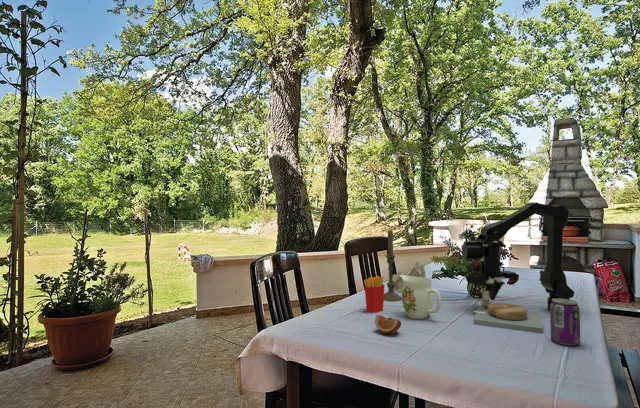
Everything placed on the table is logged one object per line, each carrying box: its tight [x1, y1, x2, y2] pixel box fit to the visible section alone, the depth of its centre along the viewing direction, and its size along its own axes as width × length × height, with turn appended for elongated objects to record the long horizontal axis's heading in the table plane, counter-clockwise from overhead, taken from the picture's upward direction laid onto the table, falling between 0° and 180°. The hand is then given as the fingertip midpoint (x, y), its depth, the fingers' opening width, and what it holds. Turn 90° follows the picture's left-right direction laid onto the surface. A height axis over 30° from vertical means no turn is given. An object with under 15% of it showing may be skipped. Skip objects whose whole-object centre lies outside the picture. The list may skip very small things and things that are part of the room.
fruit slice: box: [374, 314, 402, 335], centre depth 114 cm, size 8×7×5 cm
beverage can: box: [549, 298, 581, 347], centre depth 104 cm, size 7×7×12 cm
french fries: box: [363, 275, 385, 314], centre depth 138 cm, size 9×4×13 cm, turn 127°
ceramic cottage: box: [392, 260, 427, 294], centre depth 173 cm, size 16×16×15 cm
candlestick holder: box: [384, 229, 402, 302], centre depth 157 cm, size 9×9×30 cm
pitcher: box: [399, 275, 442, 320], centre depth 130 cm, size 11×18×14 cm, turn 36°
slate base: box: [472, 305, 544, 334], centre depth 126 cm, size 21×20×2 cm
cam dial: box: [481, 289, 528, 320], centre depth 128 cm, size 17×12×6 cm
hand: (492, 300), depth 136 cm, fingers closed
